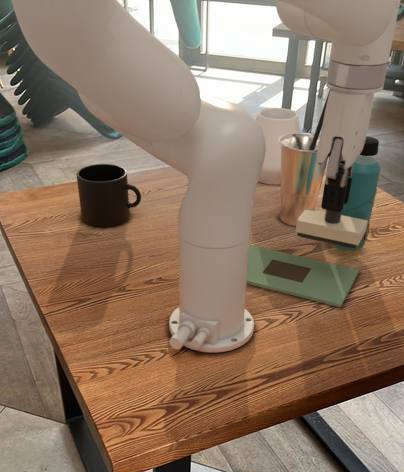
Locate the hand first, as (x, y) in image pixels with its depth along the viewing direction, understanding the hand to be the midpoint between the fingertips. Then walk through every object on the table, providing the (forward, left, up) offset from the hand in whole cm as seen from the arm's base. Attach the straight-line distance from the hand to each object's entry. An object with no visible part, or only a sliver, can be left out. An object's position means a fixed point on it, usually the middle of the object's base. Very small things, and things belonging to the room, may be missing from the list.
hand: (334, 204), depth 87 cm
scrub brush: (0, 0, -5) cm, 5 cm away
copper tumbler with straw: (+22, +11, -14) cm, 28 cm away
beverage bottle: (+13, -1, -14) cm, 19 cm away
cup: (+40, +23, -14) cm, 48 cm away
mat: (0, +5, -14) cm, 15 cm away
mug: (+5, +44, -14) cm, 46 cm away
